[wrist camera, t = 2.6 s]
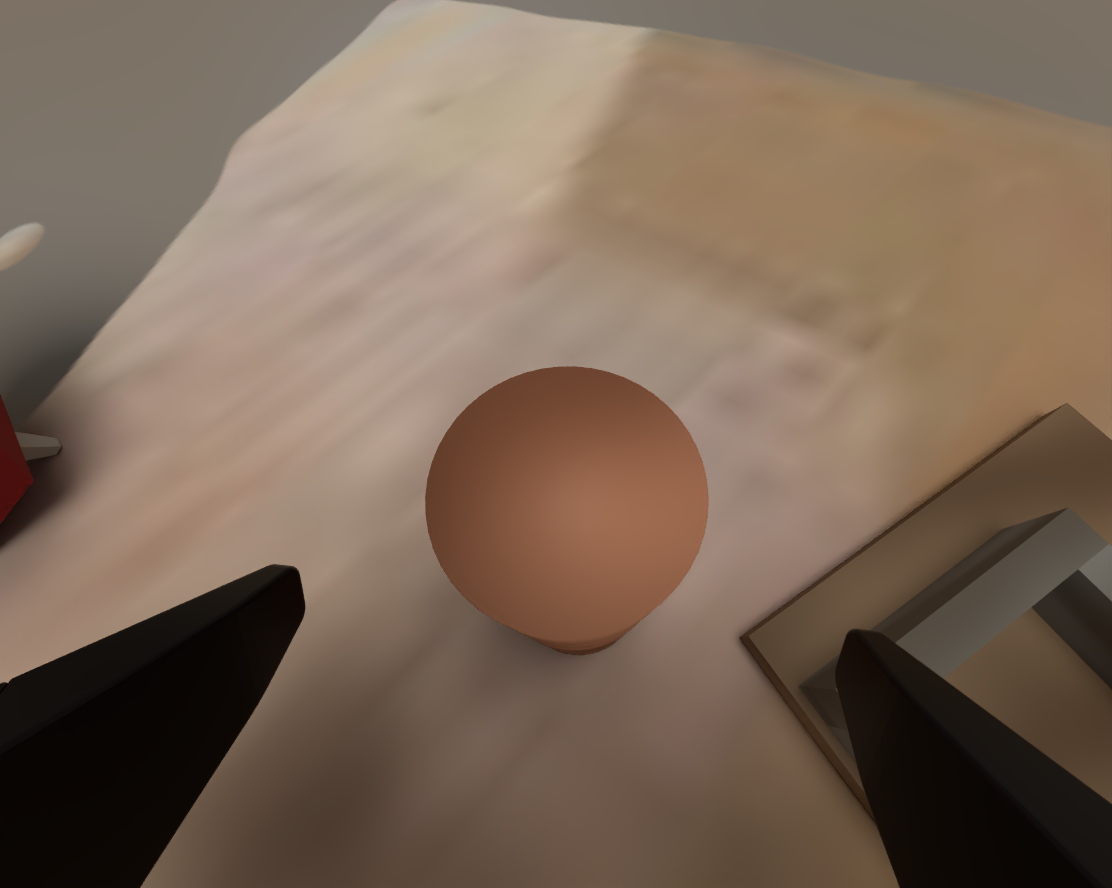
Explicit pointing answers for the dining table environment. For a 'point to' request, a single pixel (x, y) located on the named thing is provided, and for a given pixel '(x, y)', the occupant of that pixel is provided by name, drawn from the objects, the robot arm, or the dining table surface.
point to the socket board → (979, 602)
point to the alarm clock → (18, 460)
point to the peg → (567, 505)
